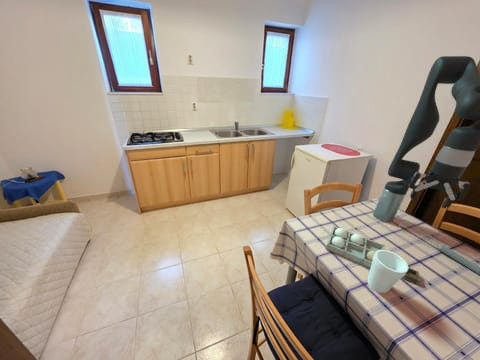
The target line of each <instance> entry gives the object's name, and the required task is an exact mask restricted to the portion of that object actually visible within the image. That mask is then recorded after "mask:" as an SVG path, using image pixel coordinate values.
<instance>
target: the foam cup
mask: <svg viewBox="0 0 480 360" xmlns="http://www.w3.org/2000/svg"><path fill="white" fill-rule="evenodd" d="M408 268H410V267H409V265H408V263H407V261H406V260H405V259H404V258H403V257H401V256H400V255H399V254H397V253H396V252H393V251H391V250H388V249H385V250H377V251H376V253H375V254H374V256H373V261H372V265H371V268H369V272H368V277H367V284H368V286H369V287H370V288H371V289H372V290H374V291H375V292H376V293H379V294H385V293H387V292H389V290H390V289H391V288H392V287H394V285H396V284H397V283H398V282H399V281H400V279H403V278H402V277H403V276H405V274H406V272H407V271H408Z"/></svg>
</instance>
